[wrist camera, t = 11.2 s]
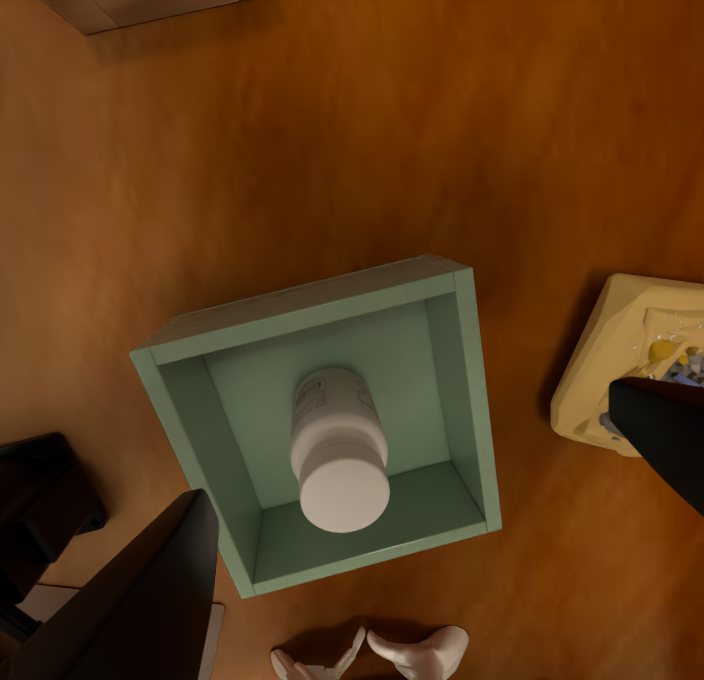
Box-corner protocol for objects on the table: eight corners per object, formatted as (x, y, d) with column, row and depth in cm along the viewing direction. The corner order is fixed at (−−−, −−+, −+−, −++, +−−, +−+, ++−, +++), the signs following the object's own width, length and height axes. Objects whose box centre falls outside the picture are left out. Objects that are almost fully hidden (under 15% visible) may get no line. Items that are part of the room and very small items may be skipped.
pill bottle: (289, 432, 22) (281, 543, 15) (297, 362, 21) (292, 444, 13) (364, 437, 23) (392, 545, 15) (376, 369, 21) (413, 451, 14)
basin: (255, 517, 24) (241, 600, 19) (174, 315, 20) (127, 352, 14) (461, 462, 25) (502, 529, 19) (429, 252, 20) (473, 267, 15)
